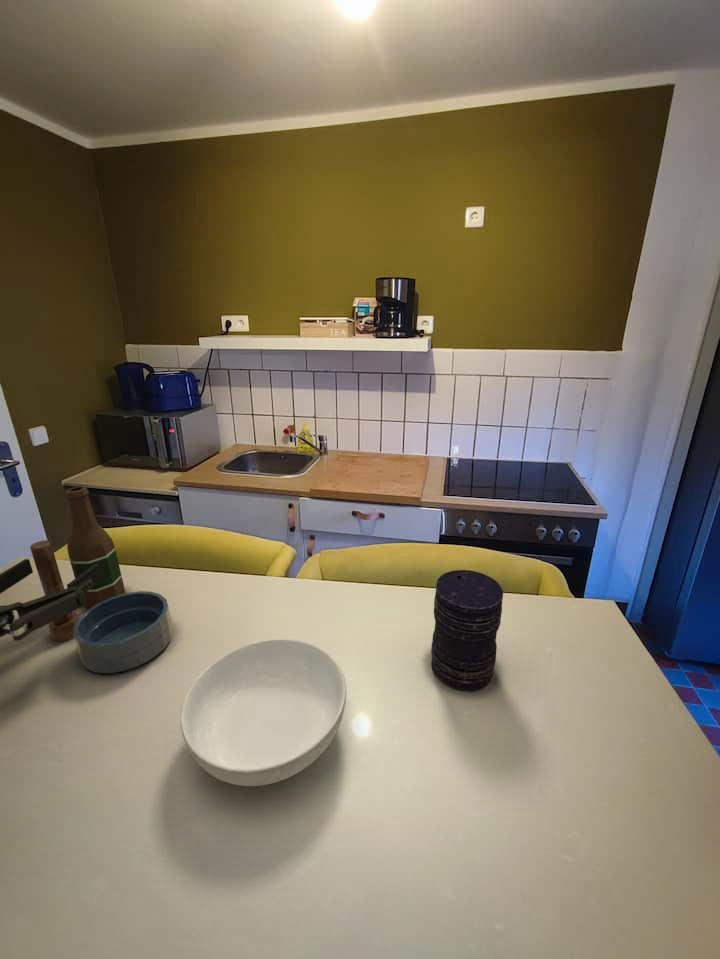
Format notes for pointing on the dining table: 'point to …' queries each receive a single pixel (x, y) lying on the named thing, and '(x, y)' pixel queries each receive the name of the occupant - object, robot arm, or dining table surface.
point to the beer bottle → (92, 549)
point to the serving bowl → (263, 711)
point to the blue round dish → (123, 631)
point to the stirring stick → (52, 588)
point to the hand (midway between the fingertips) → (64, 567)
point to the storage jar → (465, 629)
